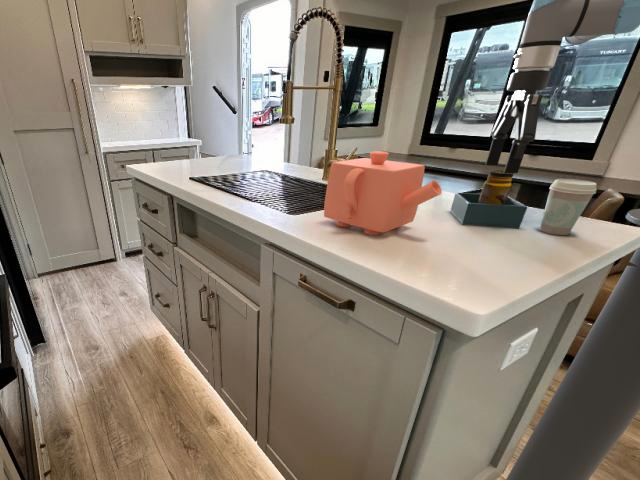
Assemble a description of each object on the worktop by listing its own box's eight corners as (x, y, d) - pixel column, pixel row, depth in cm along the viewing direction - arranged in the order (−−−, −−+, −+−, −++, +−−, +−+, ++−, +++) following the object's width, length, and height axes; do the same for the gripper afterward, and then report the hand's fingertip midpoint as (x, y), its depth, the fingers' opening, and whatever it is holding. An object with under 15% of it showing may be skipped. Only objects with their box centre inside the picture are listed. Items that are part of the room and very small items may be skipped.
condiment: (505, 222, 94) (522, 174, 88) (470, 220, 96) (485, 173, 90) (494, 214, 100) (509, 169, 95) (461, 213, 102) (474, 168, 96)
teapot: (449, 231, 89) (471, 154, 80) (402, 252, 76) (423, 164, 68) (361, 211, 106) (372, 145, 97) (311, 225, 93) (319, 151, 84)
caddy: (500, 215, 102) (507, 195, 100) (519, 228, 91) (527, 206, 88) (449, 211, 105) (455, 192, 103) (461, 224, 94) (468, 203, 91)
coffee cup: (524, 227, 92) (543, 178, 86) (552, 225, 93) (572, 177, 88) (555, 238, 85) (578, 186, 79) (585, 236, 86) (610, 184, 80)
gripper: (494, 75, 93) (470, 161, 103) (536, 66, 72) (501, 176, 82) (527, 74, 91) (499, 162, 101) (581, 64, 70) (539, 177, 80)
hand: (500, 168), depth 92 cm, fingers open, 13 cm apart
